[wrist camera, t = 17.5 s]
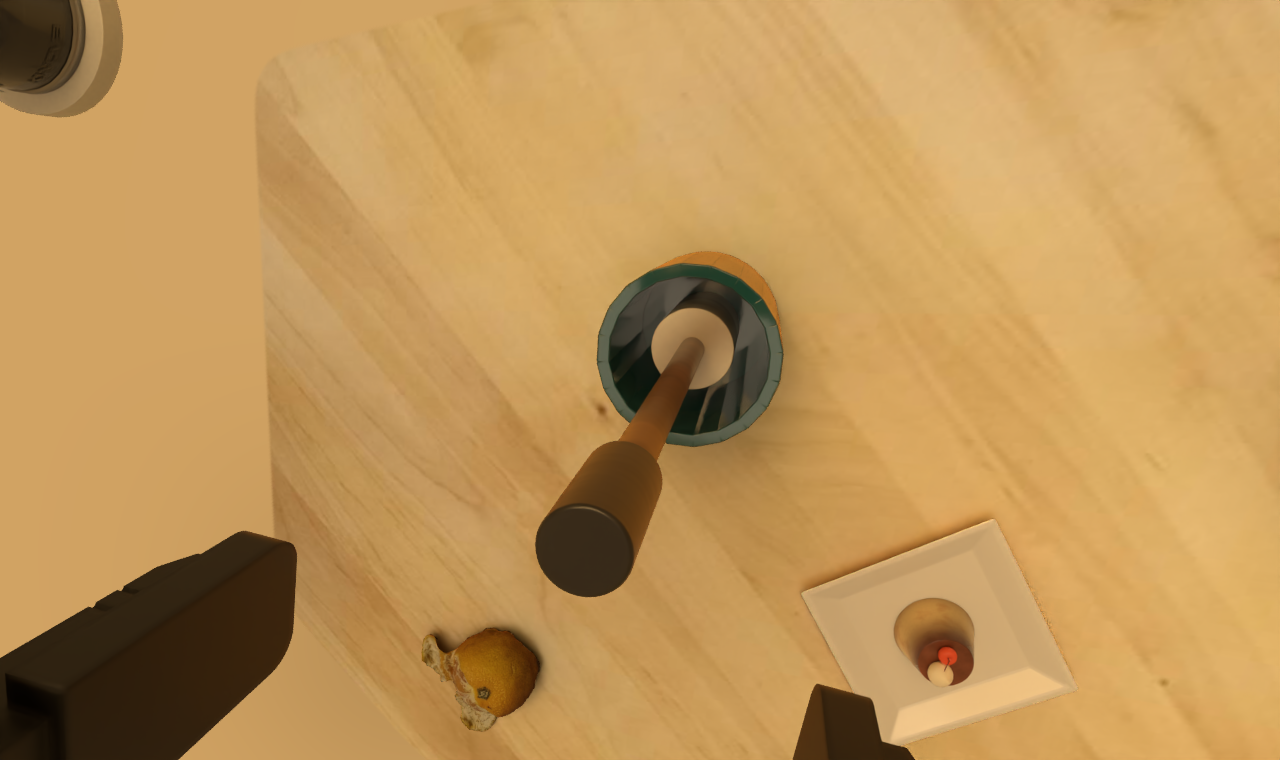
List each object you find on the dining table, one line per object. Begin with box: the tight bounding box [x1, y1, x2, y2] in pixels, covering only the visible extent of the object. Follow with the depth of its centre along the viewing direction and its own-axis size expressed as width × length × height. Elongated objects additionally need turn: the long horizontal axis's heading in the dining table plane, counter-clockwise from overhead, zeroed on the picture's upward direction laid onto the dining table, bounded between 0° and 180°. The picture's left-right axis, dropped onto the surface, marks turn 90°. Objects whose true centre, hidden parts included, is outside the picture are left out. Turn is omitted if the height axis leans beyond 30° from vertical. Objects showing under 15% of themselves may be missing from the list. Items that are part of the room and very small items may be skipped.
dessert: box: [801, 519, 1078, 746], centre depth 41 cm, size 12×12×5 cm
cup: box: [597, 251, 784, 447], centre depth 36 cm, size 8×8×10 cm
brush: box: [535, 292, 739, 597], centre depth 27 cm, size 4×4×28 cm
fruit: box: [422, 628, 540, 732], centre depth 48 cm, size 8×8×4 cm
